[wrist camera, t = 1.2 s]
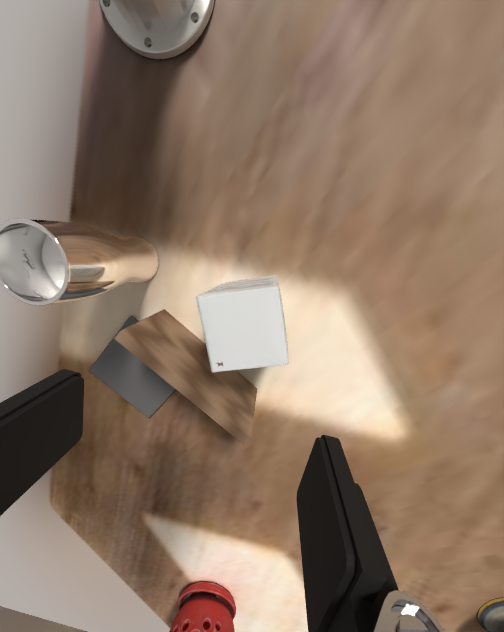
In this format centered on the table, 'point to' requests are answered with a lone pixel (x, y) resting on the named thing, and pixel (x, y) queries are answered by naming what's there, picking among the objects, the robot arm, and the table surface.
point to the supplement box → (244, 324)
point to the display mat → (131, 376)
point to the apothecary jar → (492, 615)
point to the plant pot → (205, 609)
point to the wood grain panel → (192, 371)
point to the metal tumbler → (68, 261)
